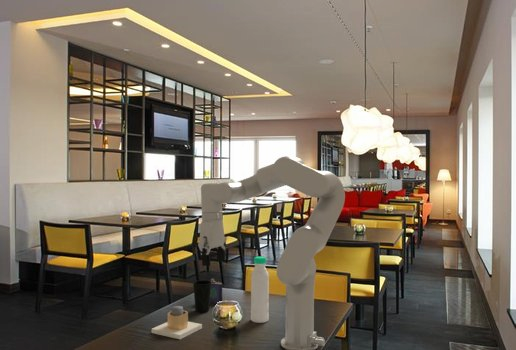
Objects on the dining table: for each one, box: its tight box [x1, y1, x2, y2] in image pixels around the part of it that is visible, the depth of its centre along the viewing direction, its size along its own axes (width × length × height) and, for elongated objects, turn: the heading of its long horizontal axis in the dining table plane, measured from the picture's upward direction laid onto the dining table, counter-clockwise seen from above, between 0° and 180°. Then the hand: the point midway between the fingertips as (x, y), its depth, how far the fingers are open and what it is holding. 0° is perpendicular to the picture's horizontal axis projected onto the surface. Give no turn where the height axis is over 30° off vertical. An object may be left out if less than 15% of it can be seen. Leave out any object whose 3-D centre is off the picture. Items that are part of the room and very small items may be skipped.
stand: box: [151, 305, 203, 340], centre depth 169 cm, size 13×13×8 cm
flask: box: [210, 278, 223, 305], centre depth 205 cm, size 9×3×11 cm, turn 76°
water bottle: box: [250, 256, 270, 324], centre depth 180 cm, size 7×7×25 cm
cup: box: [192, 279, 212, 314], centre depth 193 cm, size 8×8×12 cm
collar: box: [166, 309, 189, 330], centre depth 169 cm, size 7×7×5 cm
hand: (213, 263), depth 169 cm, fingers open, 9 cm apart
